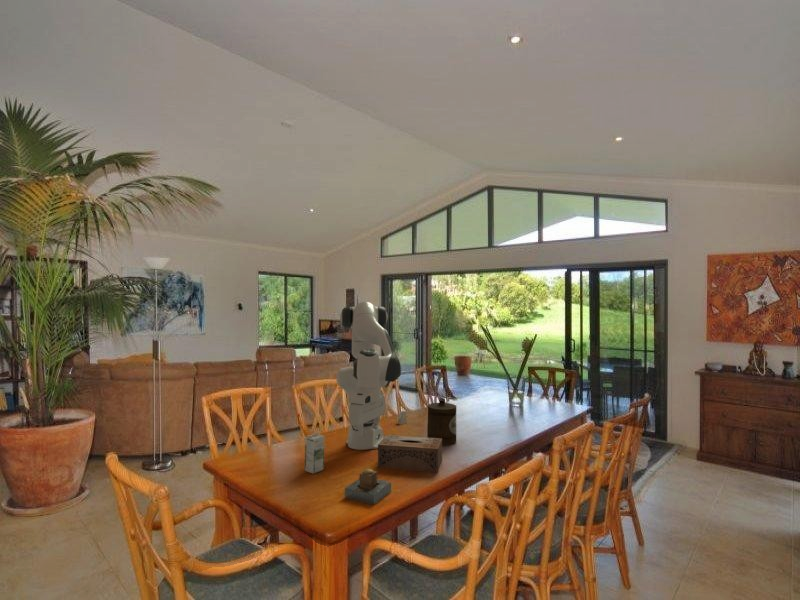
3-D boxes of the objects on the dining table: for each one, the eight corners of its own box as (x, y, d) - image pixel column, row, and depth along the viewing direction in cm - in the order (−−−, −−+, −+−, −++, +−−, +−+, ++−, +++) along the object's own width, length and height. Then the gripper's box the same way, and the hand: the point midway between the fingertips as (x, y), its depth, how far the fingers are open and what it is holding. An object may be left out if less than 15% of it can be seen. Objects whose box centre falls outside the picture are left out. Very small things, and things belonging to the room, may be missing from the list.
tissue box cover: (442, 461, 192) (442, 438, 192) (437, 473, 178) (437, 448, 178) (386, 456, 198) (386, 434, 198) (377, 468, 183) (377, 444, 184)
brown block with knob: (366, 490, 160) (366, 467, 160) (376, 493, 158) (377, 469, 158) (359, 495, 156) (359, 471, 156) (370, 498, 154) (370, 474, 154)
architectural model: (396, 424, 252) (396, 411, 252) (402, 421, 258) (402, 409, 258) (400, 425, 250) (400, 412, 251) (407, 422, 256) (407, 410, 256)
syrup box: (315, 467, 184) (315, 432, 184) (324, 470, 180) (324, 435, 180) (304, 470, 179) (304, 436, 179) (313, 474, 175) (313, 438, 176)
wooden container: (458, 445, 212) (458, 401, 213) (428, 445, 212) (428, 401, 212) (454, 436, 227) (454, 395, 227) (426, 436, 227) (426, 395, 227)
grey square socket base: (363, 485, 165) (363, 475, 165) (391, 491, 159) (391, 481, 159) (344, 497, 154) (344, 487, 154) (373, 504, 148) (374, 494, 149)
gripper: (375, 388, 168) (375, 423, 168) (345, 398, 150) (345, 438, 150) (389, 390, 165) (389, 426, 165) (360, 400, 147) (360, 441, 147)
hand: (368, 432), depth 157 cm, fingers open, 8 cm apart
